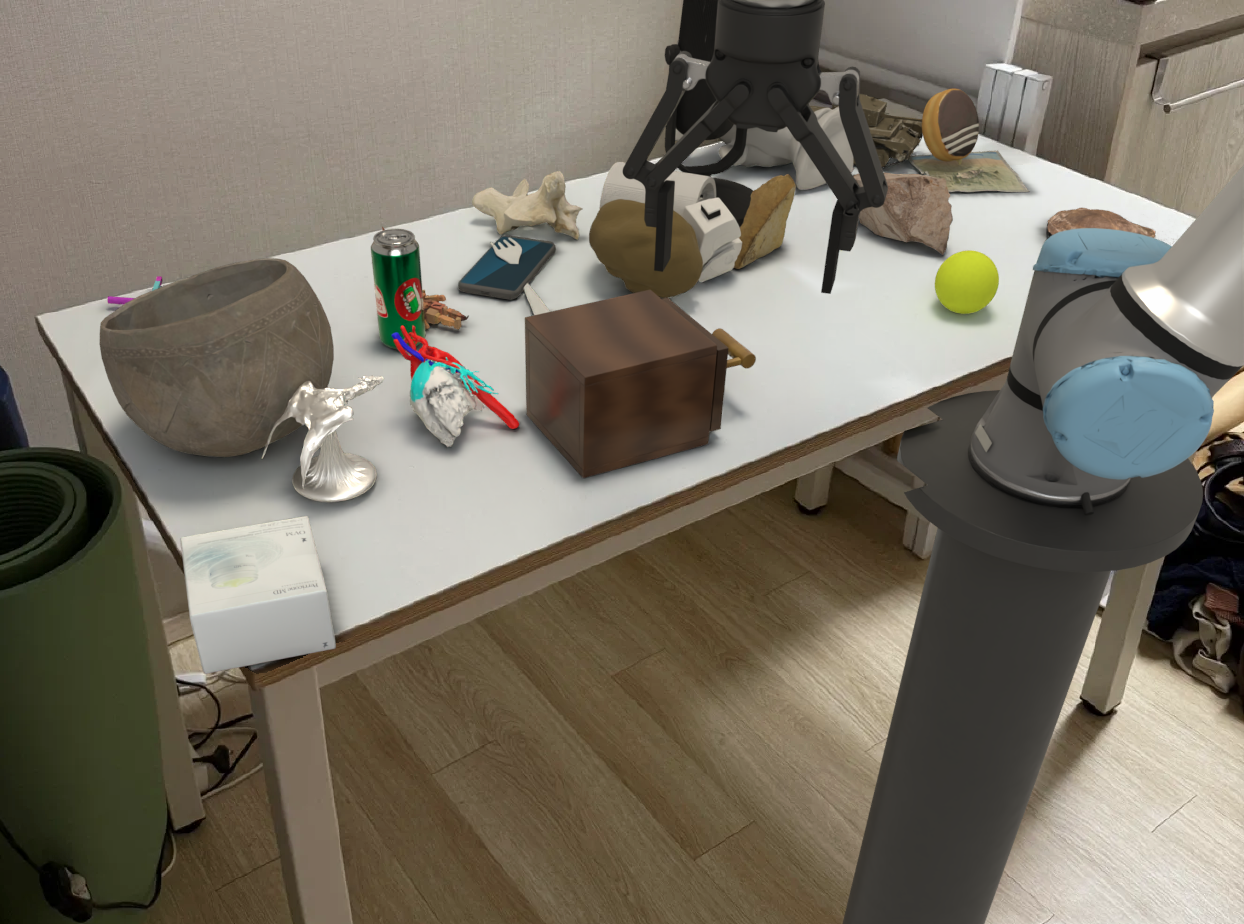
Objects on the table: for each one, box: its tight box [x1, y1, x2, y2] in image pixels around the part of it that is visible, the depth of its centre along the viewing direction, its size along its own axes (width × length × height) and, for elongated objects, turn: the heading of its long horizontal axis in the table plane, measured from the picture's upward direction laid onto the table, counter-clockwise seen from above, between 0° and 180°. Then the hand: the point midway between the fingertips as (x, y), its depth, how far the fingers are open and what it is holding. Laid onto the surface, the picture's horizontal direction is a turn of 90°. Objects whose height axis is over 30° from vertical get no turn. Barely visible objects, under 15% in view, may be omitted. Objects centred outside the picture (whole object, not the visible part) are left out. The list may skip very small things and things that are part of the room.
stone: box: [852, 171, 954, 256], centre depth 162 cm, size 15×9×10 cm
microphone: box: [664, 0, 754, 227], centre depth 159 cm, size 16×16×30 cm
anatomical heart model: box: [392, 326, 520, 448], centre depth 124 cm, size 13×8×15 cm
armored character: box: [381, 226, 470, 331], centre depth 140 cm, size 12×6×10 cm
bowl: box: [99, 257, 335, 458], centre depth 120 cm, size 21×21×15 cm
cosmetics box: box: [179, 515, 337, 675], centre depth 102 cm, size 10×6×10 cm
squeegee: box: [106, 275, 163, 306], centre depth 144 cm, size 15×1×5 cm
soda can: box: [370, 228, 427, 350], centre depth 136 cm, size 5×5×12 cm
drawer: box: [661, 297, 757, 432], centre depth 125 cm, size 18×12×9 cm, turn 116°
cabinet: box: [524, 290, 717, 479], centre depth 123 cm, size 14×13×11 cm
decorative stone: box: [588, 199, 703, 299], centre depth 147 cm, size 17×11×10 cm
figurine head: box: [675, 107, 855, 191], centre depth 175 cm, size 18×14×25 cm
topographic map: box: [907, 149, 1030, 193], centre depth 178 cm, size 13×14×2 cm
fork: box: [489, 238, 551, 315], centre depth 151 cm, size 3×24×2 cm, turn 16°
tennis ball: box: [934, 249, 1000, 315], centre depth 145 cm, size 7×7×7 cm
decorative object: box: [471, 170, 584, 241], centre depth 160 cm, size 13×13×10 cm
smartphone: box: [457, 234, 557, 300], centre depth 153 cm, size 8×15×1 cm, turn 161°
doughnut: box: [921, 88, 980, 165], centre depth 176 cm, size 9×4×10 cm, turn 126°
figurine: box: [261, 375, 385, 503], centre depth 116 cm, size 8×12×10 cm, turn 134°
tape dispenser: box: [682, 198, 742, 283], centre depth 150 cm, size 6×7×10 cm
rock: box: [733, 173, 797, 270], centre depth 156 cm, size 11×9×10 cm
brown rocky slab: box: [1046, 207, 1156, 238], centre depth 161 cm, size 12×13×4 cm
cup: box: [599, 161, 716, 216], centre depth 157 cm, size 9×9×12 cm
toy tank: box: [810, 93, 923, 169], centre depth 181 cm, size 10×23×10 cm, turn 65°
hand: (743, 275), depth 103 cm, fingers open, 13 cm apart
